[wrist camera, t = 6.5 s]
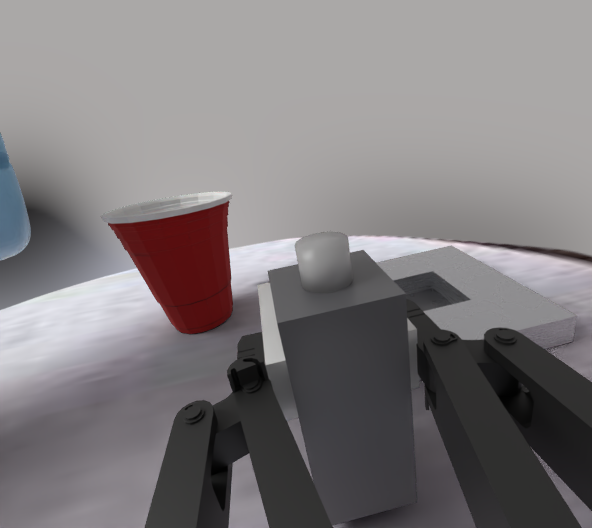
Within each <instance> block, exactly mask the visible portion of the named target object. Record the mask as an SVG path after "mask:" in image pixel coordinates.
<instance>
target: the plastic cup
mask: <svg viewBox="0 0 592 528" xmlns="http://www.w3.org/2000/svg"><path fill="white" fill-rule="evenodd" d="M231 197H232V194H231V193H229V192H207V193H197V194H189V195H181V196H175V197H169V198H164V199H157V200H152V201H147V202H143V203H138V204H133V205H129V206H126V207H122V208H118V209H115V210H112V211H109V212H106V213H104V214H103V215H102V216H101V218H102V220H103V221H104V222H107V223H108V225H109V226H110V227H111V229H112V230H114V232H115V234H116V236H117V238H118V239H120V241H121V243H122V245H123V247H124V248H125V250H127V251H128V253H129V255H130V257H131V258H132V260H133V262H134V263H135V265H136V267H137V268H138V270H139V272H140V274H141V275H142V277H143V279H144V280H145V282H146V284H147V285H148V287H149V289H150V290H151V292H152V294H153V295H154V297H155V299H156V300H157V302H158V303H160V305H161V307H162V308H163V310H164V312H165V313H166V315H167V317H168V318H169V320H170V322H171V323H172V325H174V326H175V328H176V329H177V330H178V331H180V332H181V333H187V334H193V333H201V332H204V331H207V330H210V329H213V328H215V327H217V326H219V325H220V324H222V323H224V322H225V321H226V320H227V319H228V318H229V317H230V316H231V313H232V310H233V309H232V305H233V299H232V290H231V269H230V258H229V247H228V234H227V226H228V222H227V215H228V206H229V200H230V199H231Z"/></svg>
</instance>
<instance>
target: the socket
mask: <svg viewBox="0 0 592 528" xmlns="http://www.w3.org/2000/svg"><path fill="white" fill-rule="evenodd" d="M376 264H377V265H378V266H379V267H380V268H381V269H382V270H383V271H384V272H385V273H386V274H387V275H388V276H389V277H390V278H391V279H392V280H393V281H394V282H395V283H396V284H397V285H398V286H399V287H400V288H401V289H402V290H403V291H404V292H405V293H406V299H408V300H411V301H413V302H415V303H416V304H417V305H418V306H419V307H420V309H422V311H423V312H424V313H425V314H426V315H427V316H428V317H429V318H430V319H431V320H432V321H433V322H434V323H435V324H436V325H437V326H438V327H439V328H440V329H443V330H448V331H451V332H453V333H456V334H457V335H458V336H459V337H460V338H461V339H462V340H484V334H485V332H486V331H487V330H489V329H492V328H498V327H501V328H509V329H513V330H516V331H518V332H520V333H522V334H523V335H524V336H526V337H527V338H529V339H530V340H532V341H533V342H534V343H536V344H537V345H539V346H540V347H542V348H543V349H547V348H551V347H555V346H559V345H563V344H566V343H570V342H573V338H574V332H575V326H576V319H577V315H575V314H573V313H571V312H570V311H568V310H566V309H564V308H562V307H561V306H559V305H557V304H555V303H553V302H552V301H550V300H548V299H546V298H544V297H543V296H541V295H539V294H537V293H536V292H534V291H532V290H530V289H528V288H527V287H525V286H523V285H521V284H519V283H518V282H516V281H514V280H512V279H510V278H509V277H507V276H505V275H503V274H501V273H500V272H498V271H496V270H494V269H492V268H491V267H489V266H487V265H485V264H483V263H482V262H480V261H478V260H476V259H474V258H473V257H471V256H469V255H467V254H466V253H464V252H462V251H460V250H458V249H457V248H455V247H453V246H448V247H443V248H439V249H434V250H430V251H426V252H421V253H417V254H412V255H408V256H404V257H399V258H395V259H390V260H386V261H381V262H377V263H376ZM420 380H421V378H420V377H419V381H420Z"/></svg>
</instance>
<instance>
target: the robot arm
mask: <svg viewBox="0 0 592 528" xmlns="http://www.w3.org/2000/svg"><path fill="white" fill-rule="evenodd" d="M30 231H31V230H30V223H29V219H28V214H27V210H26V207H25V203H24V199H23V196H22V193H21V190H20V186H19V183H18V180H17V178H16V175H15V172H14V169H13V167H12V165H11V164H10V163H9V157H8V154H7V151H6V149H5V145H4V141H3V138H2V136H1V133H0V260H3V259H6V258H9V257H11V256H14V255H16V254H18V253H20V252H21V251H22V250H23V249H24V248H25V247H26V246H27V244H28V243H29V240H30V233H31V232H30ZM258 295H259V305H260V315H261V325H262V332H259V333H255V334H251V335H247V336H242V338H241V340H240V341H239V343H238V355H237V358H238V360H236V361H235V362H234V363H232V364H231V365H230V367H229V368H228V371H227V376H228V379H229V382H230V385H231V388H232V391H233V392H232V394H231V395H229V396H228V397H227V398H226V399H224V400H222V401H221V402H219V403H217V404H215V405H213V406H212V404H211V403H210V402H207V401H204V400H202V401H195V402H192V403H190V404H188V405H186V406H185V407H183V408H182V409H181V410H180V411H179V412H178V413H177V415H176V417H175V419H174V423H173V426H172V430H171V434H170V437H169V441H168V445H167V448H166V452H165V456H164V459H163V463H162V467H161V470H160V474H159V478H158V481H157V485H156V488H155V492H154V496H153V499H152V503H151V507H150V510H149V514H148V518H147V521H146V525H145V528H228V524H229V509H230V494H231V479H232V463H233V462H235V461H236V460H238V459H240V458H241V457H243V456H245V455H247V454H248V453H249V454H250V457H251V461H252V465H253V468H254V472H255V476H256V480H257V483H258V487H259V491H260V494H261V498H262V502H263V505H264V509H265V513H266V516H267V520H268V524H269V528H333V527H332V524H331V522H330V520H329V518H328V515H327V513H326V511H325V508H324V506H323V504H322V501H321V499H320V497H319V495H318V492H317V490H316V488H315V485H314V483H313V481H312V478H311V476H310V474H309V472H308V469H307V467H306V465H305V462H304V460H303V458H302V455H301V453H300V451H299V449H298V446H297V444H296V442H295V439H294V437H293V435H292V432H291V430H290V428H289V426H288V423H287V421H288V420H292V419H296V418H299V416H298V412H297V408H296V403H295V399H294V395H293V390H292V386H291V382H290V377H289V373H288V369H287V364H286V360H285V356H284V351H283V347H282V343H281V338H280V334H279V330H278V325H277V320H276V315H275V309H274V303H273V298H272V292H271V287H270V282H268V283H264V284H259V285H258ZM406 304H407V323H408V342H409V360H410V379H411V389H415V388H419V377H420V378H421V380H422V381H423V382H424V384H425V407H426V410H429V406H430V408H431V411H432V413H433V416H434V419H435V421H436V424H437V426H438V429H439V432H440V434H441V437H442V439H443V442H444V444H445V447H446V450H447V452H448V455H449V457H450V460H451V463H452V465H453V468H454V470H455V473H456V476H457V478H458V481H459V483H460V486H461V488H462V491H463V494H464V496H465V499H466V501H467V504H468V507H469V509H470V512H471V514H472V517H473V520H474V522H475V525H476V527H477V528H582V527H581V526H580V524H579V523H578V521H577V520H576V518H575V516H574V515H573V513H572V512H571V510H570V509H569V507H568V505H567V504H566V502H565V501H564V499H563V498H562V496H561V494H560V493H559V491H558V490H557V488H556V487H555V485H554V484H553V482H552V480H551V479H550V477H549V476H548V474H547V473H546V471H545V469H544V468H543V466H542V465H541V463H540V462H539V460H538V459H537V457H536V455H535V454H534V452H533V451H532V449H533V450H534V451H535V452H536V453H537V454H538V455H539V456H540V457H541V458H542V459H543V460H544V461H545V462H546V463H547V464H548V466H549V467H550V468H551V469H552V470H553V471H554V472H555V473H556V474H557V475H558V476H559V477H560V478H561V479H562V480H563V481H564V482H565V483H566V484H567V485H568V487H569V488H570V489H571V490H572V491H573V492H574V493H575V494H576V495H577V496H578V497H579V498H580V499H581V500H582V501H583V502H584V503H585V504H586V505H587V506H588V508H589V509H590V510H591V511H592V382H590V381H589V380H588V379H586V378H585V377H583V376H582V375H580V374H579V373H578V372H576V371H575V370H573V369H572V368H570V367H569V366H568V365H566V364H565V363H563V362H562V361H560V360H559V359H557V358H556V357H555V356H553V355H552V354H550V353H549V352H547V351H546V350H545V349H543V348H542V347H540V346H539V345H537V344H536V343H534V342H533V341H532V340H530V339H529V338H527V337H526V336H524V335H523V334H522V333H520V332H518V331H516V330H513V329H509V328H501V327H498V328H492V329H489V330H487V331H486V332H485V334H484V340H462V339H461V338H460V337H459V336H458V335H457V334H456V333H453V332H451V331H448V330H443V329H440V328H439V327H438V326H437V325H436V324H435V323H434V322H433V321H432V320H431V319H430V318H429V317H428V316H427V315H426V314H425V313H424V312H423V311H422V309H420V307H419V306H418V305H417V304H416V303H415V302H413V301H411V300H408V299H406ZM522 384H523V385H524V386H523V385H522ZM530 447H531V448H532V449H531V448H530Z"/></svg>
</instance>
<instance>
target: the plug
mask: <svg viewBox="0 0 592 528" xmlns="http://www.w3.org/2000/svg"><path fill="white" fill-rule="evenodd" d="M295 250H296V255H297V261H298V264H297V265H293V266H288V267H283V268H279V269H274V270H270V271H268V276H269V281H270V287H271V292H272V298H273V303H274V309H275V315H276V320H277V325H278V330H279V334H280V338H281V343H282V347H283V351H284V356H285V360H286V364H287V369H288V373H289V377H290V382H291V386H292V390H293V395H294V399H295V403H296V408H297V412H298V416H299V421H300V425H301V429H302V434H303V438H304V442H305V447H306V451H307V455H308V460H309V464H310V468H311V473H312V477H313V481H314V485H315V488H316V490H317V492H318V495H319V497H320V499H321V501H322V504H323V506H324V508H325V511H326V513H327V515H328V518H329V520H330V522H331V524H332V526H333V525H336V524H340V523H344V522H347V521H351V520H354V519H358V518H362V517H365V516H369V515H373V514H376V513H380V512H383V511H387V510H391V509H394V508H398V507H402V506H405V505H409V504H413V503H416V502H417V492H416V473H415V454H414V435H413V417H412V398H411V379H410V360H409V342H408V323H407V304H406V293H405V292H404V291H403V290H402V289H401V288H400V287H399V286H398V285H397V284H396V283H395V282H394V281H393V280H392V279H391V278H390V277H389V276H388V275H387V274H386V273H385V272H384V271H383V270H382V269H381V268H380V267H379V266H378V265H377V264H376V263H375V262H374V261H373V260H372V259H371V257H370V256H369V255H368V254H367V253H366V252H365V251H364V250H361V251H356V252H352V253H350V251H349V243H348V237H347V235H345V234H343V233H340V232H321V233H316V234H312V235H308V236H306V237H303V238H301V239H300V240H298V241H297V242H296V243H295Z"/></svg>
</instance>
